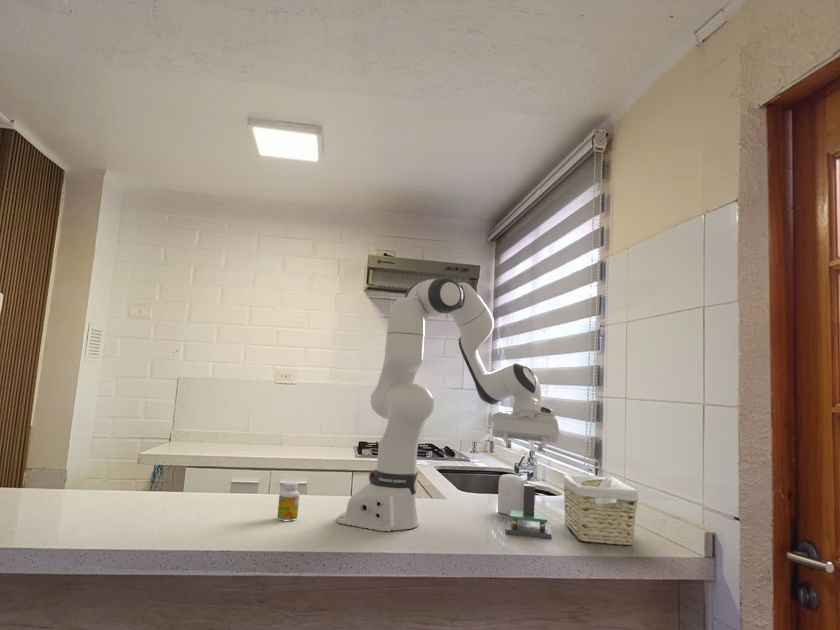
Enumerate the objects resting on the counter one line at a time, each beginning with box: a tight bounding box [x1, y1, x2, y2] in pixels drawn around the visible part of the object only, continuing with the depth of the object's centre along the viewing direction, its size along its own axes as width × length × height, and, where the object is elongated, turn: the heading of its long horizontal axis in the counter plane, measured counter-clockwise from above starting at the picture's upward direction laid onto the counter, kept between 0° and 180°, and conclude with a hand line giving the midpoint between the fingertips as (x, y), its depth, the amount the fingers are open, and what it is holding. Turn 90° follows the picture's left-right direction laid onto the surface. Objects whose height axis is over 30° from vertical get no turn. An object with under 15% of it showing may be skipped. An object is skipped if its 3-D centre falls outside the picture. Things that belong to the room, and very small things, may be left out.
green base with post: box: [509, 483, 548, 524], centre depth 152 cm, size 10×8×9 cm
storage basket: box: [562, 473, 639, 546], centre depth 153 cm, size 24×16×15 cm
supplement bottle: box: [276, 481, 300, 521], centre depth 148 cm, size 5×5×10 cm
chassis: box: [505, 518, 552, 540], centre depth 151 cm, size 12×12×4 cm
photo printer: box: [497, 473, 528, 516], centre depth 170 cm, size 10×4×12 cm, turn 39°
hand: (524, 448), depth 161 cm, fingers open, 8 cm apart
